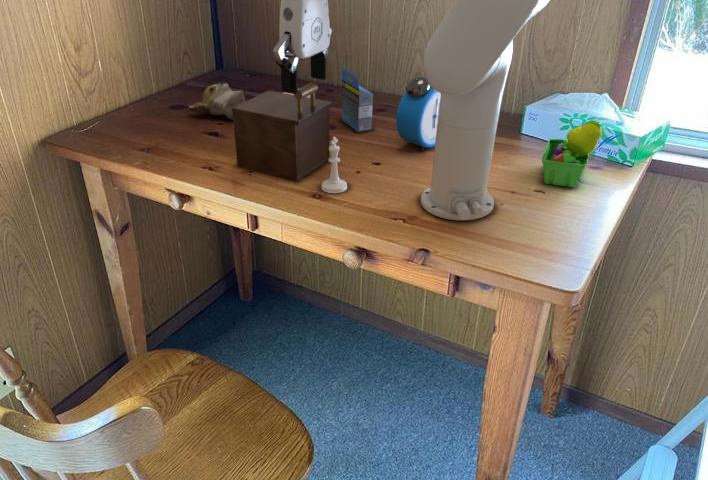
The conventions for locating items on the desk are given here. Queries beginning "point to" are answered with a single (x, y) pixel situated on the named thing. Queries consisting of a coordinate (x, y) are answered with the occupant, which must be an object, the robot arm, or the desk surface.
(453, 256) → the desk surface
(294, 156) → the chest
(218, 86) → the ceramic sculpture
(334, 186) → the chess piece
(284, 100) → the lid
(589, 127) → the fruit basket
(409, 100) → the alarm clock
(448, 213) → the robot arm
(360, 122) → the blue cardboard box
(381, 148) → the desk surface
